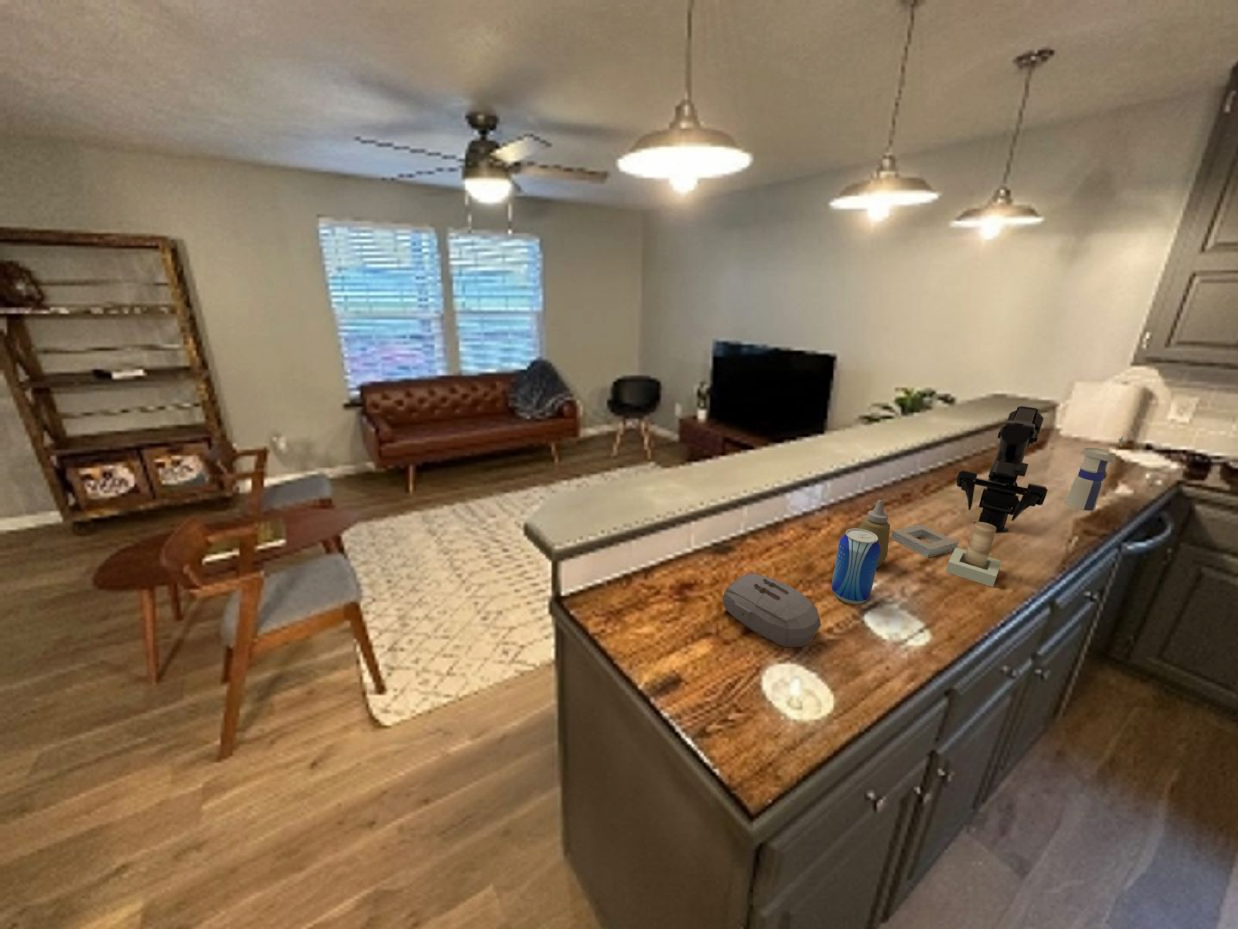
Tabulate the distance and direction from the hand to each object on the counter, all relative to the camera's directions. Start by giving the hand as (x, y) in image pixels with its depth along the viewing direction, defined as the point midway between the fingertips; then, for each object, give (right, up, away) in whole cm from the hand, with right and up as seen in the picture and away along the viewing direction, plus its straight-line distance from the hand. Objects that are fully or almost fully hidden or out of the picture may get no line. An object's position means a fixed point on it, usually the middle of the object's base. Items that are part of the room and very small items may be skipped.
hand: (990, 514), depth 128 cm
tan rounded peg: (-5, -15, -1) cm, 16 cm away
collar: (-5, -15, -1) cm, 15 cm away
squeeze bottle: (-31, -13, +2) cm, 33 cm away
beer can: (-42, -18, -11) cm, 47 cm away
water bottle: (+59, -1, +39) cm, 71 cm away
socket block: (-10, -10, +12) cm, 19 cm away
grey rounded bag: (-63, -21, -21) cm, 70 cm away
